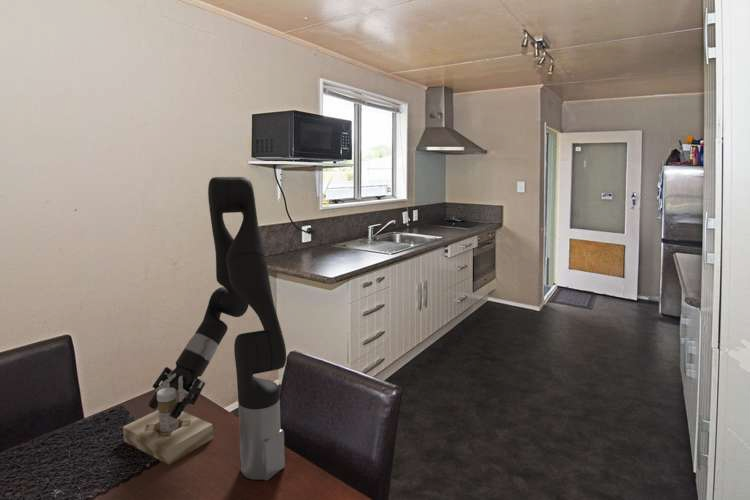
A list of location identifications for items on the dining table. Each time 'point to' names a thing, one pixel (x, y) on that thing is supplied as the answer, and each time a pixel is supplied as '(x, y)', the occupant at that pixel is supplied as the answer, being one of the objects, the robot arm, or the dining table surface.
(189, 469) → the dining table surface
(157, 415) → the spice caddy
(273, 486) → the dining table surface
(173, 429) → the sprinkles bottle
